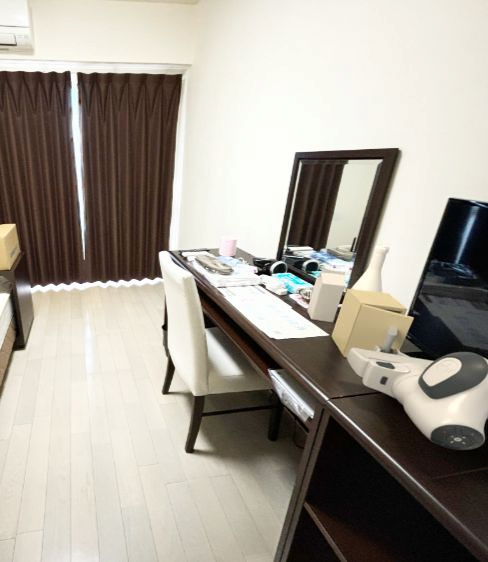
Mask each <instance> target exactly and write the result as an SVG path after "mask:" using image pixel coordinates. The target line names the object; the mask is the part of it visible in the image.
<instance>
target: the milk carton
mask: <svg viewBox="0 0 488 562" xmlns="http://www.w3.org/2000/svg"><path fill="white" fill-rule="evenodd" d="M345 273H346V271H341V270H332V269H331V270H330V269H321V272H320V273H319V274H318V275H317V276H316V279H315V283H314V286H313V290H312V292H311V296H310V298H309V299H310V300H309V303H308V307H307V314H308V315H309V317H310V320H314V321H319V322H325V323H334V320H335V318H336V315H337V311H338V309H339V306H340V302H341V299H342V296H343V293H344V290H345V287H346V280H345Z"/></svg>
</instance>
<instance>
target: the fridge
mask: <svg viewBox="0 0 488 562" xmlns="http://www.w3.org/2000/svg"><path fill="white" fill-rule="evenodd" d="M362 304H364V305H368V306H371V307H375V308H379V309H383V310H387V311H391V312H394V313H398V314H402V315H406V314H407V311H408V308H407V307H406V306H404V305H403V304H402V303H401V302H400V301H398V300H397V299H396V298H395V297H394V296H392V295H391V294H390V293H387V292H382V293H380V292H371V291H363V290H354V289H351V288H347V289H346V292H345V295H344V298H343V301H342V304H341V306H340V310H339V313H338V316H337V318H336V322H335V324H334V327H333V330H332V333H331V338H332V340H333V342H334V343H335V345H336V346H337V348H338V350H339V351H340V353H341V355H342V356H344V353H345V351H346V348H347V345H348V342H349V339H350V337H351V334H352V331H353V328H354V326H355V323H356V320H357V317H358V315H359V312H360V309H361V306H362Z"/></svg>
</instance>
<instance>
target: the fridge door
mask: <svg viewBox="0 0 488 562" xmlns="http://www.w3.org/2000/svg"><path fill="white" fill-rule="evenodd" d="M414 319H415V318H414V317H413V316H409V315H406V314H405V315H402V314H398V313H394V312H391V311H387V310H383V309H379V308H375V307H371V306H368V305H364V304H362V306H361V309H360V312H359V315H358V317H357V320H356V323H355V326H354V328H353V331H352V334H351V337H350V339H349V342H348V345H347V348H346V351H345V353H344V355H342V357H344V358H346V359H347V356H348V353H349V351H350V349H352V348H359V349H365V350H371V351H374V347H375V346H379V347H383V349H384V352H383V353H388V354H389V352H390V349H398V350H399V351H400V350H401V348H402V346H403V344H404V342H405V339H406V337H407V335H408V333H409V330H410V328H411V326H412V324H413V321H414ZM400 352H401V351H400Z"/></svg>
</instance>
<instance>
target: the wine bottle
mask: <svg viewBox="0 0 488 562" xmlns="http://www.w3.org/2000/svg"><path fill="white" fill-rule="evenodd" d="M373 251H374V252H373V255H372V258H371V260H370V262H369V265H368V267H367V269H366V270H365V272H364V273H363V274H362V275H361V276H360V278H358V280H357V281H356V282H355V283H354V284H353V285H352V287H351V288H350V289H354V290H363V291H371V292H380V293H383V284H382V269H383V266H384V264H385V260H386V258H387V257H386V256H387V254H389V251H390V246H389V245H386V244H377V245H375V246H374V250H373Z"/></svg>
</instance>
